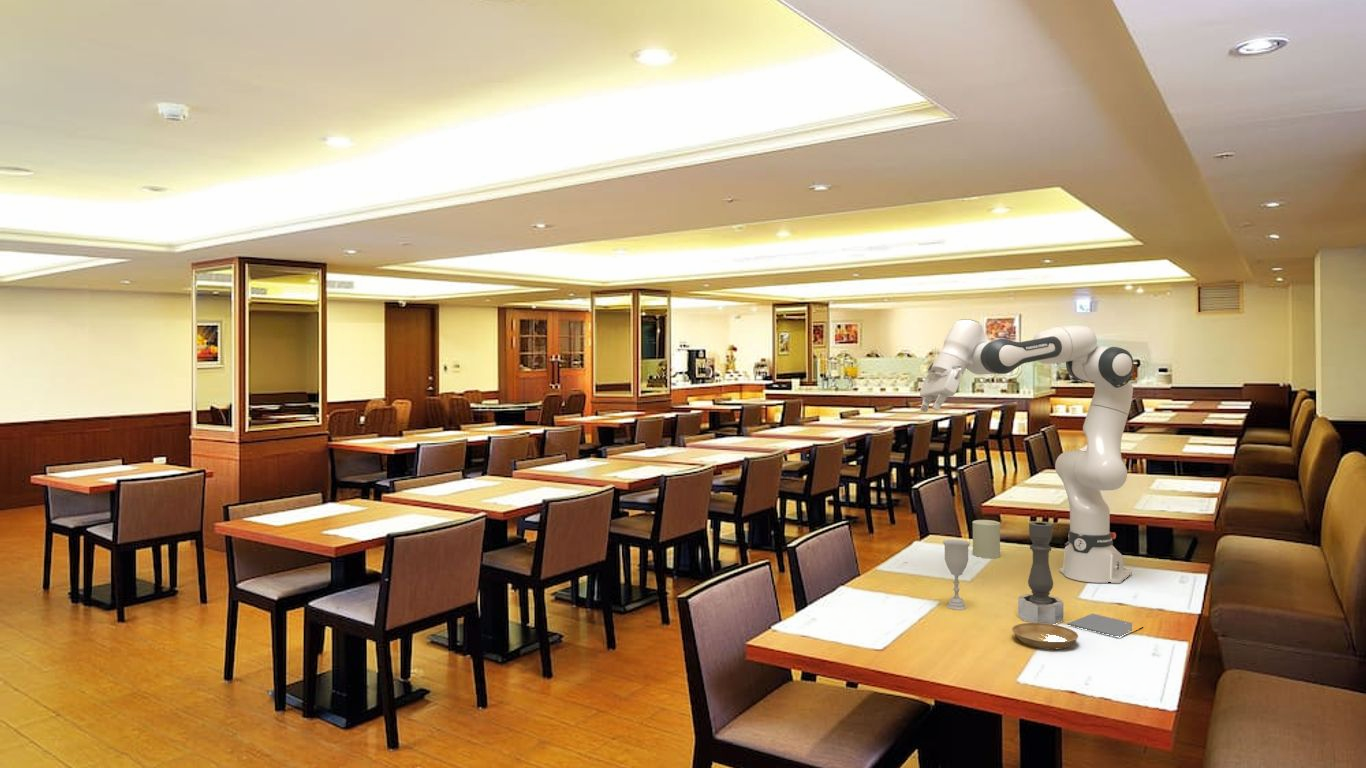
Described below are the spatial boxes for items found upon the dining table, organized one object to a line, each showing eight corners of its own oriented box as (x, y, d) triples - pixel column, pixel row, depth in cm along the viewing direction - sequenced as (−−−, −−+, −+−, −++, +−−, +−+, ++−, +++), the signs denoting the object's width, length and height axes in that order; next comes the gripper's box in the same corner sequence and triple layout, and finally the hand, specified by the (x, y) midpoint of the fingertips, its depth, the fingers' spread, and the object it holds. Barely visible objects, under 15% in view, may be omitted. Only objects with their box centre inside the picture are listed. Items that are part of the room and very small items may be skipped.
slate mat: (1092, 615, 224) (1092, 613, 224) (1143, 627, 213) (1143, 625, 213) (1067, 625, 216) (1067, 623, 216) (1119, 638, 205) (1119, 636, 205)
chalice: (971, 605, 234) (971, 540, 234) (969, 611, 228) (969, 545, 228) (944, 602, 237) (944, 538, 237) (940, 608, 231) (940, 543, 231)
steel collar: (1032, 610, 229) (1032, 591, 229) (1069, 619, 221) (1069, 600, 221) (1012, 617, 223) (1012, 598, 223) (1048, 627, 215) (1048, 607, 215)
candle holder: (1023, 615, 225) (1023, 521, 224) (1045, 614, 225) (1046, 521, 224) (1035, 622, 219) (1035, 526, 218) (1058, 621, 219) (1058, 525, 218)
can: (997, 559, 286) (997, 524, 286) (969, 556, 291) (969, 521, 291) (1003, 554, 294) (1003, 520, 293) (976, 551, 299) (976, 517, 298)
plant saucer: (998, 637, 209) (998, 626, 208) (1045, 629, 214) (1045, 619, 214) (1043, 656, 195) (1043, 645, 195) (1092, 648, 200) (1092, 637, 200)
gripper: (972, 369, 239) (952, 412, 238) (944, 377, 260) (926, 417, 258) (952, 359, 239) (932, 402, 237) (926, 367, 259) (907, 407, 258)
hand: (929, 410), depth 248 cm, fingers open, 8 cm apart
